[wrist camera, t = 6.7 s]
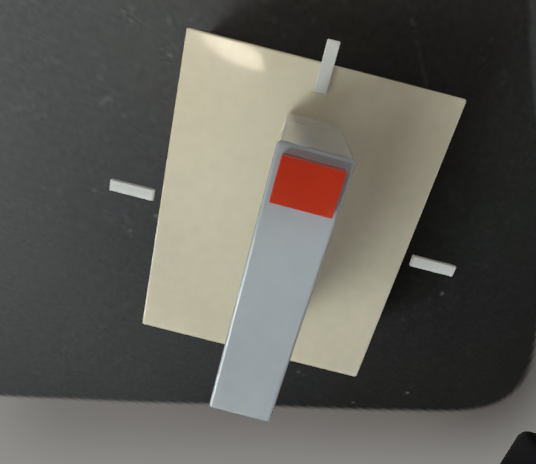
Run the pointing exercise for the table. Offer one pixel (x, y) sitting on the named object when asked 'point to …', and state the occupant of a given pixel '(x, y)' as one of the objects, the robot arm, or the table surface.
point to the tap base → (255, 178)
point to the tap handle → (283, 263)
